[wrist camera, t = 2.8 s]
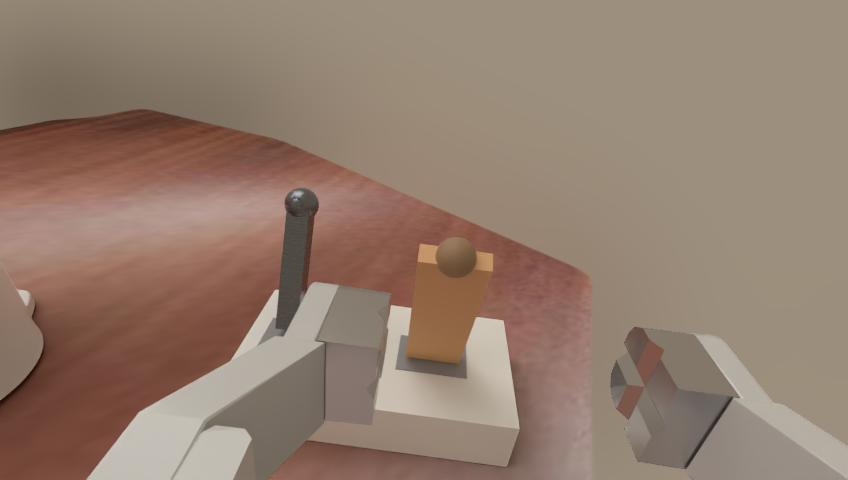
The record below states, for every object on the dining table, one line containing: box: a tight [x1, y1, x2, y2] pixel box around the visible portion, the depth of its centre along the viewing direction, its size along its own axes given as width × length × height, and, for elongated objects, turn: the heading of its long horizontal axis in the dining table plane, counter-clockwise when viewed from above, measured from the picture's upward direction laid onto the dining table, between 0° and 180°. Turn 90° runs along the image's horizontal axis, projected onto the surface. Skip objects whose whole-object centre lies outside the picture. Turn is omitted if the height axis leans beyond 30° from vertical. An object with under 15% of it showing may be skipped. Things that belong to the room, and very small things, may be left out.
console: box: [232, 290, 520, 467], centre depth 34 cm, size 20×11×4 cm, turn 86°
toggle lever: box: [275, 188, 319, 330], centre depth 32 cm, size 2×2×10 cm
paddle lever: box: [405, 237, 493, 364], centre depth 28 cm, size 4×2×13 cm, turn 86°
